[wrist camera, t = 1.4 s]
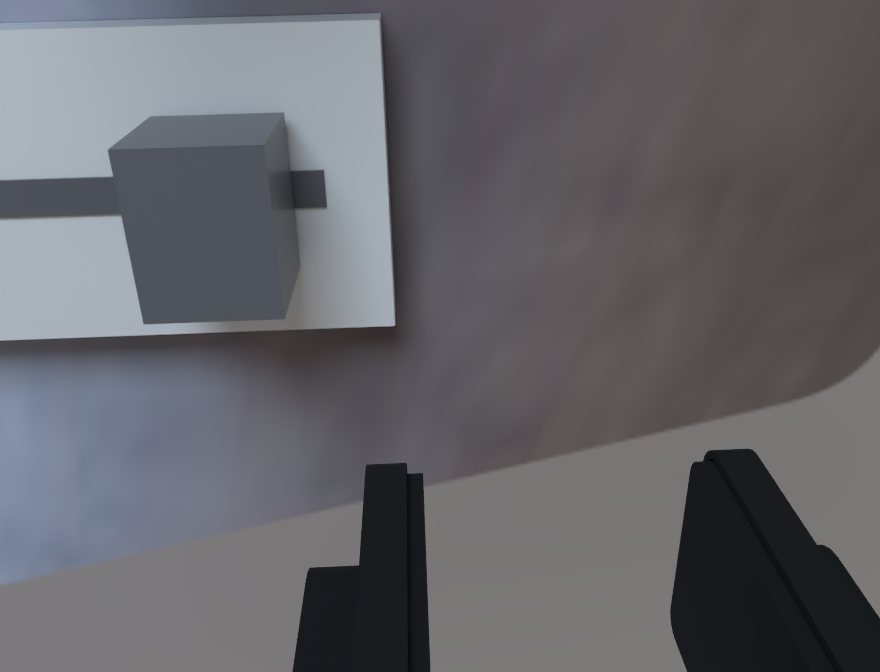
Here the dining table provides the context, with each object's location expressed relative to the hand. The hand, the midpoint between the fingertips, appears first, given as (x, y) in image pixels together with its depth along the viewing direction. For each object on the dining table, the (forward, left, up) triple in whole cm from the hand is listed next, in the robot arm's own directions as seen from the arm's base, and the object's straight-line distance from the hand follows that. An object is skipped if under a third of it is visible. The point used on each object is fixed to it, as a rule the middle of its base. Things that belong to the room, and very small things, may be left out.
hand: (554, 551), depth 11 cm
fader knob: (+8, 0, -17) cm, 18 cm away
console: (+15, 0, -19) cm, 24 cm away
